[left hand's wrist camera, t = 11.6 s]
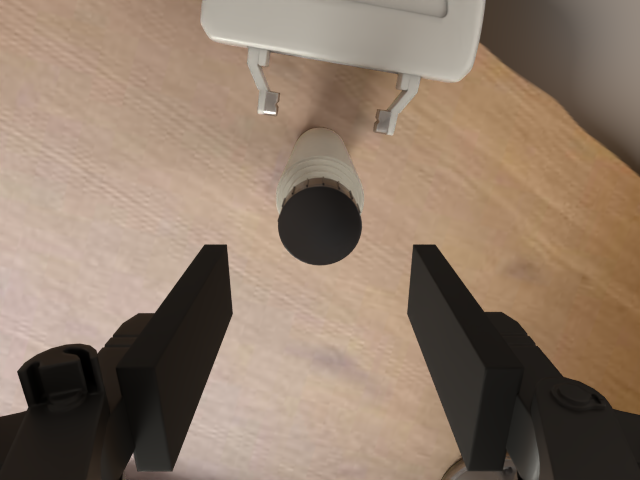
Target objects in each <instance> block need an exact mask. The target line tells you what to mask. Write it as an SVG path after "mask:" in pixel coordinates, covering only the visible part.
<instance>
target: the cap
mask: <svg viewBox="0 0 640 480" xmlns="http://www.w3.org/2000/svg"><path fill="white" fill-rule="evenodd" d="M281 207H282V209H281V212H280V215H279V218H278V231H279V236H280V239H281V241H282V243H283V245H284V247H285V248H286V249H287V251H288V252H289V253H290V254H291V255H293V256H294V257H295V258H297V259H298V260H300V261H302V262H305V263H308V264H312V265H328V264H332V263H335V262H338V261H340V260H342V259H343V258H345V257H346V256H347V255H349V254H350V253H351V252H352V251H353V249H354V248H355V247H356V245H357V243H358V241H359V239H360V235H361V230H362V221H361V216H360V213H361V211H360V208H359V205H358V203H356V200H355V198H354V196H353V195H352V192H351V190H350V191H349V190H348V189H347V188H346V187H345V186H344V185H342V184H341V183H340V182H339V181H335V180H332V179H329V178H324V177H322V178H311V179H308V178H307V180H305V181H303V182H301V183H299V184H298V185H296V186H293V189H292V190H291V191H290V192H289V193H288V195H287V196H286V198H284V200H283V203H282V206H281Z"/></svg>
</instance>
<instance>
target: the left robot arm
mask: <svg viewBox="0 0 640 480" xmlns="http://www.w3.org/2000/svg"><path fill="white" fill-rule="evenodd" d="M232 314H233V311H232V300H231V288H230V276H229V265H228V253H227V245H204V246H203V248H202V249H201V250H200V252H199V253H198V255H197V256H196V257H195V259H194V260H193V261H192V263H191V264H190V266H189V267H188V268H187V270H186V271H185V272H184V274H183V275H182V277H181V278H180V279H179V281H178V282H177V283H176V285H175V286H174V288H173V289H172V290H171V292H170V293H169V294H168V296H167V297H166V299H165V300H164V301H163V303H162V304H161V305H160V307H159V308H158V310H157V311H156V312H155V313H138V314H137V315H135V316H134V317H132V318H130V319H129V320H127V321H126V322H124V323H123V324H122V325H121V326H120V327H119V328H118V330H117V331H116V332H115V333H114V335H113V338H110V339H109V341H108V342H107V343H106V344H105V347H104V348H102V349H101V350H100V351H99V353H98V354H97V351H96V350H95V349H94V348H93V347H91V346H90V345H84V344H68V345H63V346H59V347H55V348H51V349H49V350H47V351H44V352H42V353H40V354H37V355H36V356H34V357H33V358H31V359H30V360H28V361H27V362H25V363H24V364H23V365H22V367H21V368H20V369H19V370H18V371H17V373H18V376H19V379H20V382H21V385H22V388H23V392H24V395H25V398H26V401H27V404H28V409H27V411H24V412H21V413H16V414H11V415H7V416H2V417H0V480H126V478H125V473H124V469H125V467H126V465H127V463H128V462H129V460H130V458H131V456H132V454H133V453H134V458H135V462H136V467H137V471H173V468H174V466H175V463H176V461H177V458H178V455H179V453H180V450H181V447H182V445H183V442H184V440H185V437H186V434H187V432H188V429H189V427H190V424H191V421H192V419H193V416H194V414H195V411H196V408H197V406H198V403H199V401H200V398H201V395H202V393H203V390H204V387H205V385H206V382H207V380H208V377H209V374H210V372H211V369H212V367H213V364H214V361H215V359H216V356H217V354H218V351H219V348H220V346H221V343H222V341H223V338H224V335H225V333H226V330H227V327H228V325H229V322H230V320H231V317H232ZM407 314H408V317H409V320H410V322H411V325H412V327H413V330H414V333H415V335H416V338H417V341H418V343H419V346H420V348H421V351H422V354H423V356H424V359H425V361H426V364H427V367H428V369H429V372H430V374H431V377H432V380H433V382H434V385H435V387H436V390H437V393H438V395H439V398H440V401H441V403H442V406H443V408H444V411H445V414H446V416H447V419H448V421H449V424H450V427H451V429H452V432H453V434H454V437H455V440H456V442H457V445H458V447H459V450H460V453H461V455H462V458H463V459H462V460H460V461H458V462H457V463H456V464H454V465H453V466H452V467H451V468H450V469H449V470H448V471H447V472H446V473H445V475H444V476H443V478H442V480H640V415H637V414H632V413H628V412H623V411H619V410H615V409H612V407H611V405H610V404H609V402H608V401H607V400H606V398H605V397H604V396H602V395H601V394H600V393H599V392H597V391H596V390H595V389H593V388H591V387H589V386H587V385H585V384H583V383H581V382H579V381H576V380H572V379H569V378H565V377H563V376H562V375H561V373H560V372H559V371H558V370H557V369H556V367H555V366H554V365H553V364H552V363H551V361H550V360H549V359H548V358H547V357H546V355H545V354H544V353H543V352H542V351H541V349H540V348H539V347H538V346H536V345H535V342H534V341H533V340H532V339H531V338H530V336H527V333H526V332H525V330H524V329H523V328H522V327H521V326H520V324H519V323H518V322H517V321H515V320H513V319H512V318H510V317H509V316H507V315H506V314H504V313H502V312H484V311H483V310H482V308H481V307H480V305H479V304H478V303H477V301H476V300H475V299H474V297H473V296H472V294H471V293H470V292H469V290H468V289H467V288H466V286H465V285H464V283H463V282H462V281H461V279H460V278H459V277H458V275H457V274H456V272H455V271H454V270H453V268H452V267H451V266H450V264H449V263H448V261H447V260H446V259H445V257H444V256H443V255H442V253H441V252H440V250H439V249H438V248H437V246H436V245H413V253H412V265H411V276H410V288H409V300H408V311H407Z"/></svg>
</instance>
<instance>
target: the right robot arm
mask: <svg viewBox="0 0 640 480" xmlns="http://www.w3.org/2000/svg"><path fill="white" fill-rule="evenodd" d="M484 9H485V0H202V5H201V25H202V27H203V29H204V31H205V33H206V34H207V36H208V37H209V38H210V39H211V40H213V41H215V42H217V43H221V44H226V45H232V46H238V47H244V48H248V59H247V64H248V67H249V69H250V72H251V74H252V76H253V79H254V81H255V84H256V86H257V88H258V90H259V100H258V114H263V115H270V116H277V114H278V105H277V103H278V102H279V99H280V93H278V92H273V91H270V88H269V86H268V83H267V81H266V78H265V75H264V73H263V70H262V68H261V66H263V67H268V66H269V59H270V52H272V53H278V54H284V55H290V56H296V57H301V58H307V59H313V60H319V61H325V62H330V63H336V64H342V65H348V66H354V67H359V68H365V69H371V70H377V71H382V72H388V73H394V74H398V78H397V83H396V89H398V90H402V92H401V93H400V94H399V95H398V97H397V98H396V99H395V100H394V102H393V103H392V104H391V105H390V106H389V108H388V109H387V110H388V111H386V110H380V109H377V112H376V120H377V121H376V122H375V123H374V128H373V131H374V132H375V133H381V134H387V135H393V133H394V130H395V125H396V121H397V116H398V113H400V112H401V111H402V110H403V109H404V108H405V106H406V105H407V104H408V103H409V102H410V101H411V99H412V98H413V97H414V96H415V95H416V94H417V92H418V88H419V83H420V79H421V78H423V79H429V80H435V81H440V82H447V83H453V82H459V81H460V80H461V79H462V78H464V77H465V76H466V75H467V74H468V73H469V72H470V71H471V69H472V67H473V64H474V60H475V57H476V53H477V49H478V44H479V39H480V34H481V28H482V23H483V16H484Z"/></svg>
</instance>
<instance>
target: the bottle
mask: <svg viewBox="0 0 640 480" xmlns="http://www.w3.org/2000/svg"><path fill="white" fill-rule="evenodd" d="M322 177H324V178H329V179H332V180H335V181H339V182H340V183H341V184H342V185H344V186H345V187H346V188H347V189H348V190H349V191H350V190H351V192H352V195H353V196H354V198H355V200H356V203H358V205H359V208H360V211H361V213H362V210H363V205H364V192H363V187H362V184H361V181H360V179H359V177H358V174H357V172H356V170H355V167H354V165H353V163H352V160H351V158H350V155H349V153H348V151H347V148H346V146H345V144H344V142H343V140H342V138H341V137H340V136H339V135H338V134H337V133H335V132H334V131H332V130H330V129H327V128H321V127H319V128H313V129H310V130H308V131H306V132H305V133H303V134H302V135H301V136H300V137H299V138H298V140H297V142H296V144H295V146H294V148H293V151H292V153H291V155H290V158H289V160H288V162H287V165H286V167H285V169H284V172H283V174H282V177H281V179H280V181H279V184H278V187H277V192H276V205H277V210H278V213H279V215H280V212H281V209H282V207H281V206H282V203H283V200H284V198H286V196H287V195H288V193H289V192H290V191H291V190H292V189H293V186H296V185H298V184H299V183H301V182H303V181H305V180H307V178H308V179H311V178H322ZM361 213H360V215H361Z"/></svg>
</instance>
